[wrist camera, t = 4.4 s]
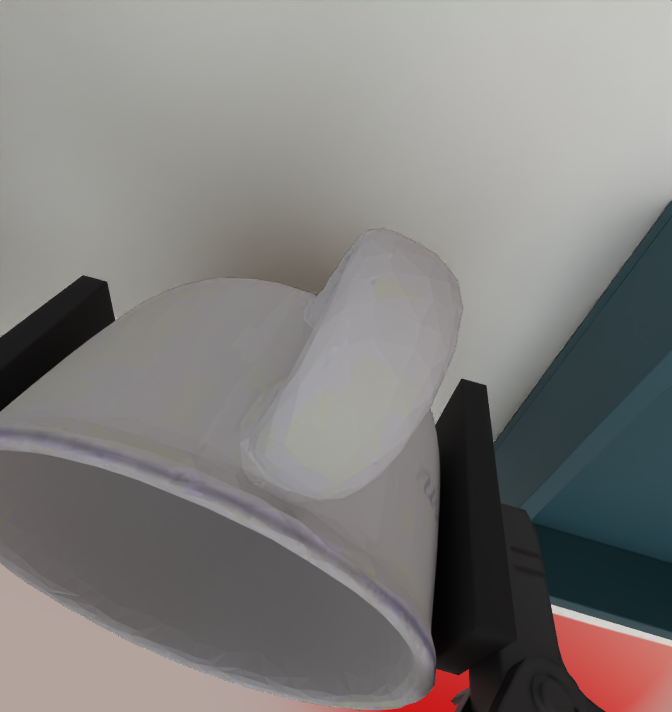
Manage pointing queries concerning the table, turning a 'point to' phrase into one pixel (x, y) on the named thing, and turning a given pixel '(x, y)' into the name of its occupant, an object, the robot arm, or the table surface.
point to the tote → (605, 451)
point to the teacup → (250, 477)
